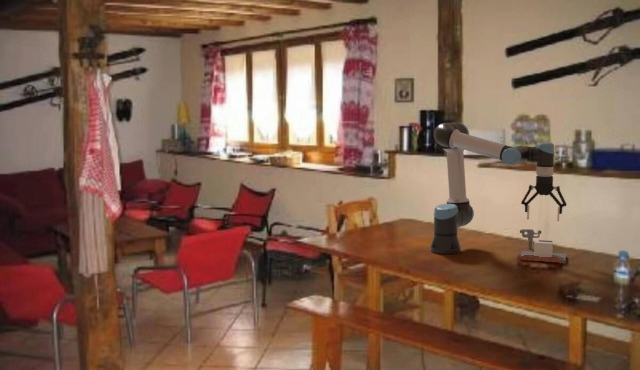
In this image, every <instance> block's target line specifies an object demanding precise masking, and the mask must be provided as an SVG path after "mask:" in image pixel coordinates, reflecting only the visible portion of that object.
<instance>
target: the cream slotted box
mask: <svg viewBox="0 0 640 370" xmlns="http://www.w3.org/2000/svg"><path fill="white" fill-rule="evenodd" d="M553 243H554V240H553V239H539V238H535V239H534V245H533V248H534V249H533V252H534V256H539V257H552V253H553Z"/></svg>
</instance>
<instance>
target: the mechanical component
mask: <svg viewBox="0 0 640 370" xmlns="http://www.w3.org/2000/svg"><path fill="white" fill-rule="evenodd" d="M519 234H521V236H522V238H526V239H527V241H528V250H530V249H531V250H532V248H533V241H534V238H535V239H539V238H540V236H541V234H542V230H540V229H537V232H535V231H534V229H531V228H530V229H529V228H528V229H525V228H521V229H519Z"/></svg>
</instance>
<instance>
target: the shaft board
mask: <svg viewBox="0 0 640 370" xmlns="http://www.w3.org/2000/svg"><path fill="white" fill-rule="evenodd" d="M524 255H534V251H528V250H527V251H526V250H522V251H521V255H520V257H521V256H524ZM566 256H567V254H566V253H557V252H552V257H557V258H559V259H560V260H561V261H562V262H563V265H565V264H566V260H567V259H566Z"/></svg>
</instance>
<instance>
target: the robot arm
mask: <svg viewBox="0 0 640 370" xmlns="http://www.w3.org/2000/svg"><path fill="white" fill-rule="evenodd" d="M433 137H434V140H435V142H436V144H438V145H440V146H442V147H443V148H442V150H443V151H444V152H446V162H447V179H448V182H447V183H448V195H449V196H448V197H449V198H448V199H447V201H446V203H444V204H443V203H442V204H438V205H436V206H435V207H434V211H433V238H432V241H431V243H430V246H429V247H430V252H431V253H434V254H437V255H438V254H440V255H455V254H459V253H461V252H462V251H461V249H462V248H461V243H460V240H459V237H458V228H460V227H465V226H467V225H468V224H470V223H471V222H472V221H473V219H474V216H475V213H474V212H475V211H474V209H473V207H472V205H471V204H470V203H471V202H470V199H469V198H468V197H467V189H466V188H467V187H466V173H465V172H466V170H465V157H464V151H468V152H471V153H473V154H478V155H482V156H485V157H488V158H491V159H494V160H495V159H496V160H499V161H502V162H504V163H505V164H506V165H511V166H513V165H516V164H521V163H536V176H535V177H536V178H535V185H532V184H529V185H528V190H527V192H526V194H525V195H524V196H523V198H522V200H521V202H520V204H521V205H523V206H524V212H525V213H526V220H529V219H530V203H531V202H532V201H533V200H534V199H536V197H537V196H538V195H539V196H550V197H551V198H552V199H553V200H554V201H555V203H556V205H558V206H557V222H560V215H562V214H563V208H564V207H566V206H567V202H566V200H565V198H564V195H563V194H562V192H561V189H560V187H561V186H559V185H557V186H554V176H553V175H554V160H555V144H554V143H552V142H538V143H537V146H526V145H515V146H509V145H507V144H503V143H500V142H496V141H493V140H488V139H486V138H481V137H477V136H475V135H470V132H469V129H468V127H467V126H466V125H465V124H464V123H462V122H457V121H456V122H455V121H454V122H453V121H452V122H443V123H440V124H438V125H437V126H436V127H435V129H434V132H433ZM533 190H535V191H536V192H535V193H534V194H532V196H531V197H530V198H529V199H528V200H527V198H528V197H529V195H530V193H531V192H532V191H533ZM553 190H555V192H557V195H558V196H559V199H560V200H561V201H560V200H559V199H558V198H557V197H556V195H555V194H554V193H553ZM526 200H527V201H526Z"/></svg>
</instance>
